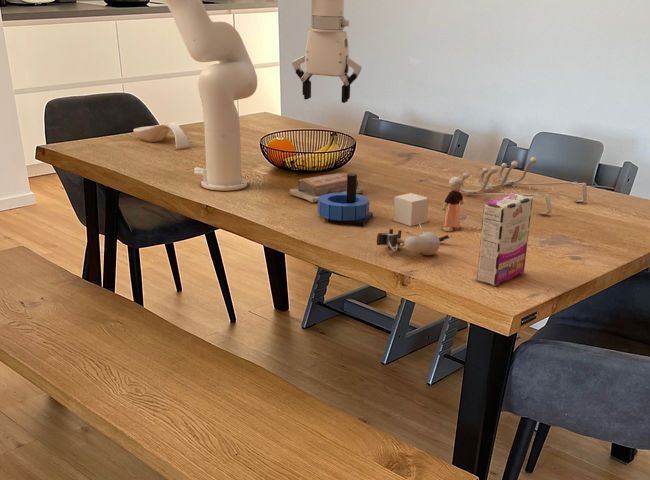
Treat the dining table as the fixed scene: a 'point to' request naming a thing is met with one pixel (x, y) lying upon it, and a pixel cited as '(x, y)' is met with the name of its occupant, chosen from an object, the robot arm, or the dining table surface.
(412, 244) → the clip-on lamp
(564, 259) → the dining table surface
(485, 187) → the over door rack
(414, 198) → the white cube
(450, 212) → the grandmother figurine
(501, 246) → the candy bar box
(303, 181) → the packaged product
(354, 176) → the peg stand
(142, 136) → the spoon rest
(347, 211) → the tape
